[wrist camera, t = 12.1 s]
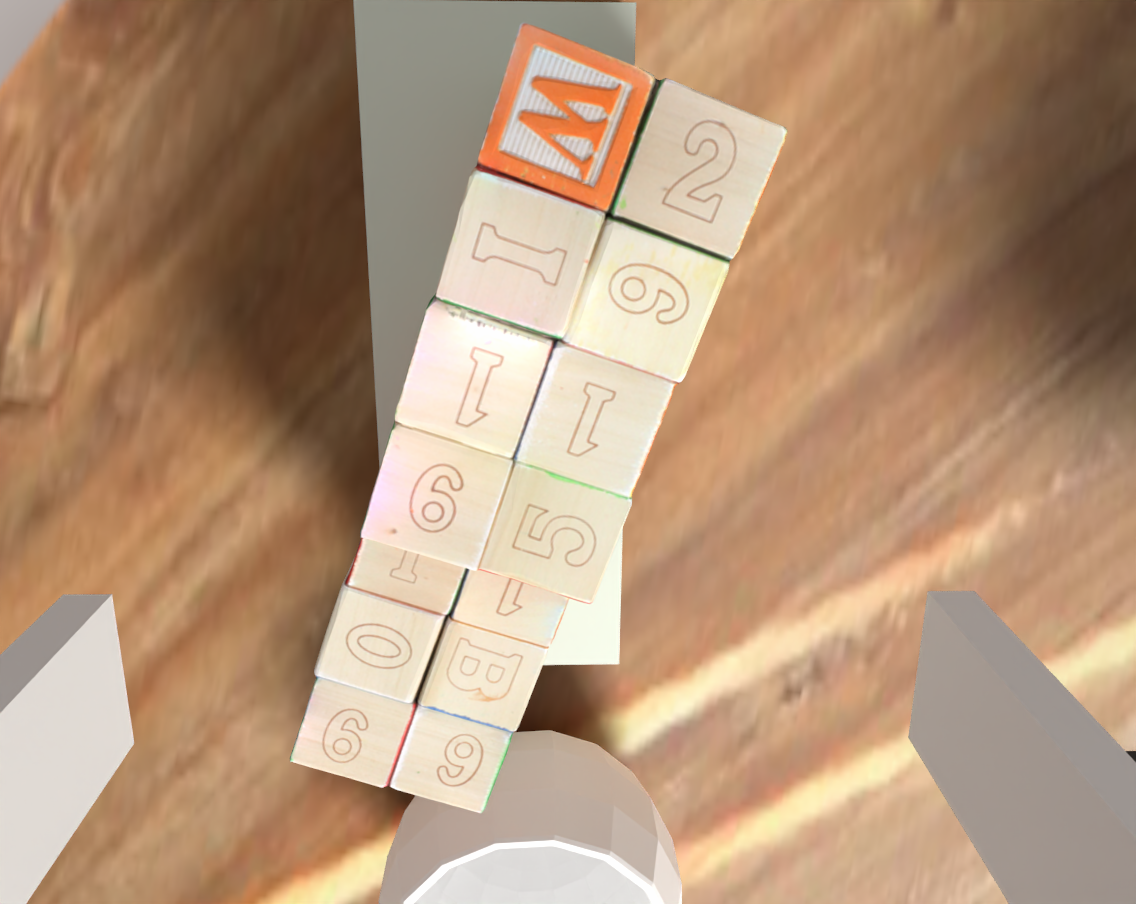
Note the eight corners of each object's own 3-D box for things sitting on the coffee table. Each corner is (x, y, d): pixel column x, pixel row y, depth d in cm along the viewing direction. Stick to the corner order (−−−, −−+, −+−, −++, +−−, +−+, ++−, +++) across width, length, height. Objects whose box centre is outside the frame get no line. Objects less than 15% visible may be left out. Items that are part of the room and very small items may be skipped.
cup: (441, 924, 49) (421, 1108, 40) (368, 716, 45) (327, 866, 36) (683, 870, 48) (719, 1044, 39) (630, 656, 44) (656, 792, 35)
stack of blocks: (492, 662, 39) (476, 893, 27) (338, 615, 38) (252, 833, 26) (701, 127, 33) (797, 125, 21) (524, 56, 32) (521, 13, 20)
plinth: (627, 13, 36) (642, -5, 31) (613, 610, 44) (623, 668, 39) (370, 10, 36) (346, -8, 31) (401, 612, 43) (385, 671, 39)
